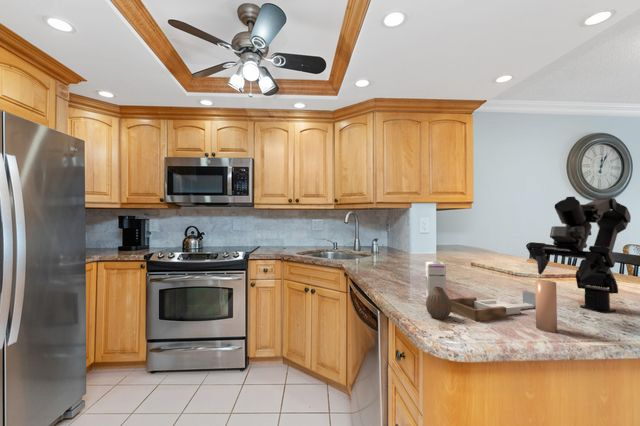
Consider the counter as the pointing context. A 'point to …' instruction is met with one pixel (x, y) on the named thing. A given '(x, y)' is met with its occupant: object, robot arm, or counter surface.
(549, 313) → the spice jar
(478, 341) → the counter surface
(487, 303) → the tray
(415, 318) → the counter surface
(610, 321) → the counter surface
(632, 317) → the counter surface
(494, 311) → the dock
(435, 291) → the vase
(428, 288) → the syrup box
